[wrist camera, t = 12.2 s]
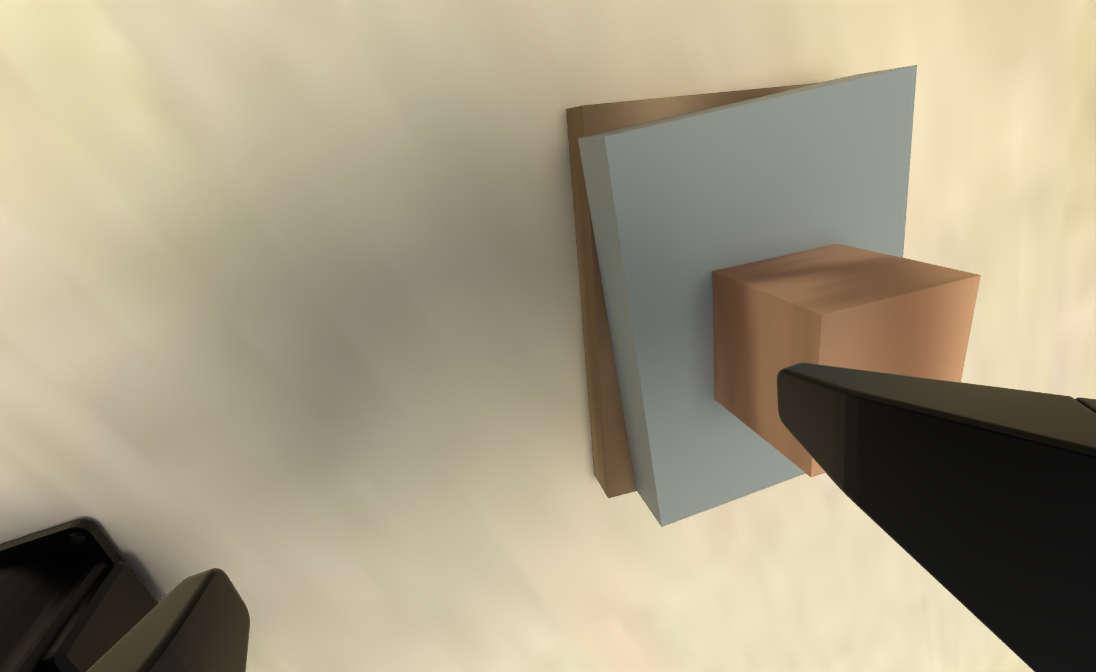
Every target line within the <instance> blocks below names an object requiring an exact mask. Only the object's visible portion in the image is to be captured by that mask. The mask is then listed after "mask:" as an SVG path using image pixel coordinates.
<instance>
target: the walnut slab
mask: <svg viewBox="0 0 1096 672" xmlns="http://www.w3.org/2000/svg"><path fill="white" fill-rule="evenodd" d="M814 84H818V83H814ZM809 85H813V84H804V85H794V86H783V87H773V88H762V89H752V90H741V91H731V92H720V93H710V94H699V95H689V96H678V97H668V98H658V99H647V100H637V101H626V102H616V103H605V104H595V105H584V106H579V107H574V108H570V109H566V110H567V123H568V136H569V149H570V162H571V175H572V188H573V201H574V215H575V228H576V241H577V254H578V267H579V280H580V293H581V306H582V319H583V332H584V345H585V358H586V371H587V384H588V397H589V410H590V423H591V436H592V449H593V462H594V475H595V476H596V478H597V480H598V482H599V483H600V485H601V487H602V489H603V490H604V492H605V494H606V495H607V497H608V498H611V497H615V496H619V495H623V494H627V493H630V492H634V491H637V490H636V485H635V479H634V473H633V467H632V461H631V455H630V449H629V443H628V437H627V431H626V425H625V419H624V413H623V407H622V401H621V395H620V389H619V383H618V377H617V371H616V365H615V359H614V353H613V347H612V341H611V335H610V329H609V323H608V316H607V310H606V304H605V298H604V292H603V286H602V280H601V274H600V268H599V262H598V256H597V250H596V244H595V238H594V232H593V226H592V220H591V214H590V208H589V202H588V196H587V190H586V184H585V178H584V172H583V166H582V160H581V154H580V148H579V142H578V138H582V137H586V136H590V135H595V134H599V133H603V132H608V131H612V130H617V129H621V128H625V127H630V126H634V125H638V124H643V123H647V122H652V121H656V120H660V119H665V118H669V117H673V116H678V115H682V114H687V113H691V112H695V111H700V110H704V109H708V108H713V107H717V106H722V105H726V104H730V103H735V102H739V101H743V100H748V99H752V98H757V97H761V96H765V95H770V94H774V93H778V92H783V91H787V90H792V89H796V88H800V87H805V86H809Z"/></svg>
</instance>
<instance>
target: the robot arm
mask: <svg viewBox="0 0 1096 672" xmlns="http://www.w3.org/2000/svg"><path fill="white" fill-rule="evenodd" d="M777 401H778V413H779V417H780V419H781V421H782V423H783V424H784V426H785V427H786V428H787V429H788V430H789V432H790V433H791V434H792V435H793V436H794V437H795V438H796V440H797V441H798V442H799V443H800V444H801V445H802V446H803V447H804V449H805V450H806V451H807V452H808V453H809V454H810V455H811V457H812V458H813V459H814V460H815V461H816V462H817V463H818V464H819V466H820V467H821V468H822V469H823V470H824V471H825V472H826V474H827V475H828V476H829V477H830V478H831V479H832V480H833V481H834V483H835V484H836V485H837V486H838V487H839V488H840V489H841V490H842V491H843V492H844V493H845V494H846V495H847V496H848V497H849V498H850V499H851V500H852V501H853V502H854V503H855V504H856V505H857V506H858V507H859V508H860V509H861V510H862V511H864V512H865V513H866V514H867V515H868V516H869V517H870V518H871V519H872V520H873V521H874V522H875V523H876V524H877V525H879V526H880V527H881V528H882V529H883V530H884V531H885V532H886V533H887V534H888V535H889V536H890V537H891V538H892V539H893V540H895V541H896V542H897V543H898V544H899V545H900V546H901V547H902V548H903V549H904V550H905V551H906V552H907V553H908V554H909V555H911V556H912V557H913V558H914V559H915V560H916V561H917V562H918V563H919V564H920V565H921V566H922V567H923V568H924V569H926V570H927V571H928V572H929V573H930V574H931V575H932V576H933V577H934V578H935V579H936V580H937V581H938V582H939V583H940V584H942V585H943V586H944V587H945V588H946V589H947V590H948V591H949V592H950V593H951V594H952V595H953V596H954V597H955V598H957V599H958V600H959V601H960V602H961V603H962V604H963V605H964V606H965V607H966V608H967V609H968V610H969V611H970V612H971V613H973V614H974V615H975V616H976V617H977V618H978V619H979V620H980V621H981V622H982V623H983V624H984V625H985V626H986V627H987V628H989V629H990V630H991V631H992V632H993V633H994V634H995V635H996V636H997V637H998V638H999V639H1000V640H1001V641H1002V642H1004V643H1005V644H1006V645H1007V646H1008V647H1009V648H1010V649H1011V650H1012V651H1013V652H1014V653H1015V654H1016V655H1017V656H1018V657H1020V658H1021V659H1022V660H1023V661H1024V662H1025V663H1026V664H1027V665H1028V666H1029V667H1030V668H1031V669H1032V670H1033V671H1034V672H1096V399H1088V398H1076V399H1074V398H1072V397H1070V396H1063V395H1055V394H1048V393H1040V392H1032V391H1024V390H1016V389H1008V388H1000V387H992V386H984V385H976V384H968V383H961V382H953V381H945V380H937V379H929V378H921V377H913V376H905V375H897V374H889V373H881V372H874V371H866V370H858V369H850V368H842V367H834V366H826V365H818V364H810V363H797V364H795V365H792V366H789V367H786V368H783V369H781V370H780V371H779V372H778V374H777ZM75 533H81V534H82V535H84V536H85V537H81V536H78V535H76V534H75ZM249 629H250V617H249V612H248V609H247V607H246V605H245V603H244V602H243V600H242V598H241V597H240V595H239V594H238V592H237V590H236V589H235V587H234V586H233V584H232V582H231V581H230V579H229V578H228V576H227V575H226V573H225V572H224V571H223V570H221V569H218V568H213V569H210V570H207V571H204V572H202V573H199V574H196V575H193V576H190V577H188V578H186V579H184V580H183V581H182V582H181V583H180V584H179V585H178V586H177V587H176V588H174V589H173V590H172V591H171V592H170V593H169V594H168V595H167V596H166V597H165V598H164V599H163V600H162V601H161V602H160V603H159V604H158V605H156V603H155V602H154V601H153V599H152V598H151V597H150V595H149V594H148V593H147V591H146V590H145V589H144V587H143V586H142V585H141V583H140V582H139V581H138V579H137V578H136V577H135V575H134V574H133V573H132V571H131V570H130V569H129V567H128V566H127V565H126V564H125V562H124V561H123V560H122V558H121V557H120V556H119V554H118V553H117V552H116V550H115V549H114V548H113V546H112V545H111V544H110V542H109V541H108V540H107V538H106V537H105V536H104V534H103V533H102V532H101V530H100V529H99V528H98V526H97V525H95V524H94V523H93V522H90V521H88V520H77V521H73V522H70V523H67V524H64V525H61V526H58V527H54V528H51V529H48V530H45V531H42V532H39V533H36V534H33V535H30V536H27V537H24V538H21V539H18V540H15V541H12V542H9V543H6V544H3V545H0V672H246V661H247V651H248V640H249Z"/></svg>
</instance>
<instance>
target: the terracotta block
mask: <svg viewBox="0 0 1096 672" xmlns="http://www.w3.org/2000/svg"><path fill="white" fill-rule="evenodd" d="M712 274H713V332H714V389H715V400H716V401H717V402H718V403H719V404H721V405H722V406H723V407H724V408H726V409H727V410H728V411H729V412H731V413H732V414H733V415H734V416H736V417H737V418H738V419H739V420H741V421H742V422H743V423H744V424H746V425H747V426H748V427H749V428H750V429H752V430H753V431H754V432H755V433H757V434H758V435H759V436H760V437H762V438H763V439H764V440H765V441H767V442H768V443H769V444H770V445H772V446H773V447H774V448H775V449H776V450H778V451H779V452H780V453H781V454H783V455H784V456H785V457H786V458H788V459H789V460H790V461H791V462H793V463H794V464H795V465H796V466H798V467H799V468H800V469H801V470H803V471H804V472H805V473H806V474H807V475H809V476H810V477H813V476H816V475H819V474H823V473H826V472H825V471H824V470H823V469H822V468H821V467H820V466H819V464H818V463H817V462H816V461H815V460H814V459H813V458H812V457H811V455H810V454H809V453H808V452H807V451H806V450H805V449H804V447H803V446H802V445H801V444H800V443H799V442H798V441H797V440H796V438H795V437H794V436H793V435H792V434H791V433H790V432H789V430H788V429H787V428H786V427H785V426H784V424H783V423H782V421H781V419H780V417H779V413H778V401H777V374H778V372H779V371H780V370H781V369H783V368H786V367H789V366H792V365H795V364H797V363H810V364H818V365H826V366H834V367H842V368H850V369H858V370H866V371H874V372H881V373H889V374H897V375H905V376H913V377H921V378H929V379H937V380H945V381H953V382H961V377H962V372H963V367H964V361H965V356H966V351H967V345H968V340H969V335H970V329H971V324H972V318H973V313H974V308H975V302H976V297H977V292H978V286H979V281H980V276H981V275H977V274H973V273H968V272H964V271H959V270H955V269H950V268H946V267H941V266H937V265H932V264H928V263H923V262H919V261H914V260H910V259H905V258H901V257H896V256H892V255H887V254H883V253H878V252H874V251H870V250H865V249H861V248H856V247H852V246H847V245H843V244H833V245H828V246H824V247H819V248H815V249H810V250H806V251H801V252H797V253H792V254H788V255H783V256H779V257H774V258H770V259H765V260H760V261H756V262H751V263H747V264H742V265H738V266H733V267H729V268H724V269H720V270H715V271H712Z"/></svg>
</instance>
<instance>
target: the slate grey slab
mask: <svg viewBox="0 0 1096 672" xmlns="http://www.w3.org/2000/svg"><path fill="white" fill-rule="evenodd" d="M916 71H917V65H915V66H909V67H902V68H896V69H889V70H883V71H877V72H870V73H864V74H858V75H853V76H848V77H844V78H840V79H835V80H831V81H826V82H822V83H818V84H813V85H809V86H805V87H800V88H796V89H792V90H787V91H783V92H778V93H774V94H770V95H765V96H761V97H757V98H752V99H748V100H743V101H739V102H735V103H730V104H726V105H722V106H717V107H713V108H708V109H704V110H700V111H695V112H691V113H687V114H682V115H678V116H673V117H669V118H665V119H660V120H656V121H652V122H647V123H643V124H638V125H634V126H630V127H625V128H621V129H617V130H612V131H608V132H603V133H599V134H595V135H590V136H586V137H582V138H578V142H579V148H580V154H581V160H582V166H583V172H584V178H585V184H586V190H587V196H588V202H589V208H590V214H591V220H592V226H593V232H594V238H595V244H596V250H597V256H598V262H599V268H600V274H601V280H602V286H603V292H604V298H605V304H606V310H607V316H608V323H609V329H610V335H611V341H612V347H613V353H614V359H615V365H616V371H617V377H618V383H619V389H620V395H621V401H622V407H623V413H624V419H625V425H626V431H627V437H628V443H629V449H630V455H631V461H632V467H633V473H634V479H635V485H636V490H637V491H638V493H639V494H640V496H641V497H642V499H643V500H644V502H645V503H646V505H647V506H648V508H649V509H650V510H651V512H652V513H653V515H654V516H655V518H656V519H657V521H658V522H659V524H660V525H661V527H663V526H665V525H668V524H671V523H673V522H676V521H679V520H681V519H684V518H687V517H689V516H692V515H695V514H698V513H700V512H703V511H706V510H708V509H711V508H714V507H716V506H719V505H722V504H724V503H727V502H730V501H732V500H735V499H738V498H741V497H743V496H746V495H749V494H751V493H754V492H757V491H759V490H762V489H765V488H767V487H770V486H773V485H775V484H778V483H781V482H784V481H786V480H789V479H792V478H794V477H797V476H800V475H802V474H805V472H804V471H803V470H801V469H800V468H799V467H798V466H796V465H795V464H794V463H793V462H791V461H790V460H789V459H788V458H786V457H785V456H784V455H783V454H781V453H780V452H779V451H778V450H776V449H775V448H774V447H773V446H772V445H770V444H769V443H768V442H767V441H765V440H764V439H763V438H762V437H760V436H759V435H758V434H757V433H755V432H754V431H753V430H752V429H750V428H749V427H748V426H747V425H746V424H744V423H743V422H742V421H741V420H739V419H738V418H737V417H736V416H734V415H733V414H732V413H731V412H729V411H728V410H727V409H726V408H724V407H723V406H722V405H721V404H719V403H718V402H717V401H716V400H715V389H714V332H713V274H712V271H715V270H720V269H724V268H729V267H733V266H738V265H742V264H747V263H751V262H756V261H760V260H765V259H770V258H774V257H779V256H783V255H788V254H792V253H797V252H801V251H806V250H810V249H815V248H819V247H824V246H828V245H833V244H843V245H847V246H852V247H856V248H861V249H865V250H870V251H874V252H878V253H883V254H887V255H892V256H896V257H901V258H903V249H904V236H905V222H906V208H907V194H908V181H909V167H910V153H911V140H912V126H913V112H914V98H915V85H916Z"/></svg>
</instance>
